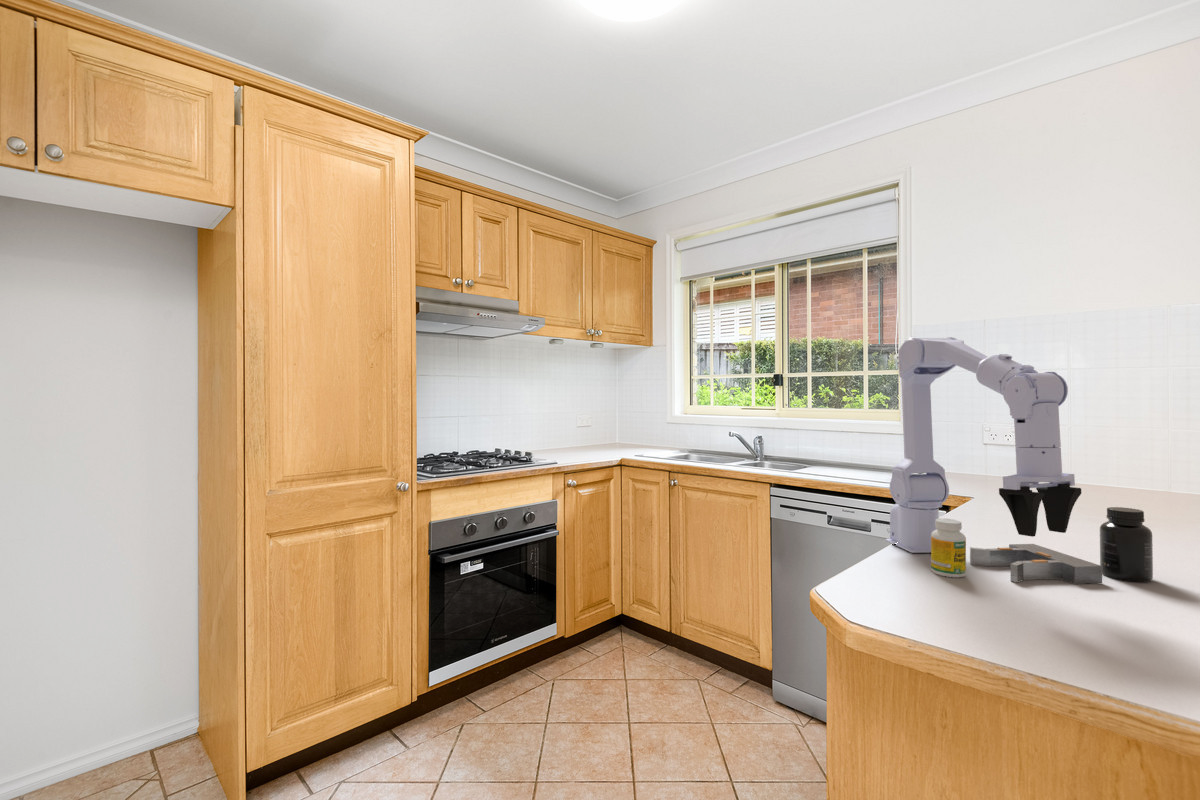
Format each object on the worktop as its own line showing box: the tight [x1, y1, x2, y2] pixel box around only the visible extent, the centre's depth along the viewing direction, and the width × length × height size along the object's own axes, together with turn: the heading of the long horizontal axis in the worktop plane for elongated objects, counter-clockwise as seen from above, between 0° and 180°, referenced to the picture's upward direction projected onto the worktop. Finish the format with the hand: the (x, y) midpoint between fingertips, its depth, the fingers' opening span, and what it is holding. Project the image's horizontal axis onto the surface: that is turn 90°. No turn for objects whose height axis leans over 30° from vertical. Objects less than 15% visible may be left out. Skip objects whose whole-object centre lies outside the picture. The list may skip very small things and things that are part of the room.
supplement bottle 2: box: [1099, 506, 1154, 583], centre depth 99 cm, size 7×7×12 cm
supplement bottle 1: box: [930, 517, 967, 579], centre depth 101 cm, size 5×5×10 cm
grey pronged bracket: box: [969, 543, 1103, 585], centre depth 102 cm, size 14×15×3 cm
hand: (1042, 533), depth 88 cm, fingers open, 7 cm apart
